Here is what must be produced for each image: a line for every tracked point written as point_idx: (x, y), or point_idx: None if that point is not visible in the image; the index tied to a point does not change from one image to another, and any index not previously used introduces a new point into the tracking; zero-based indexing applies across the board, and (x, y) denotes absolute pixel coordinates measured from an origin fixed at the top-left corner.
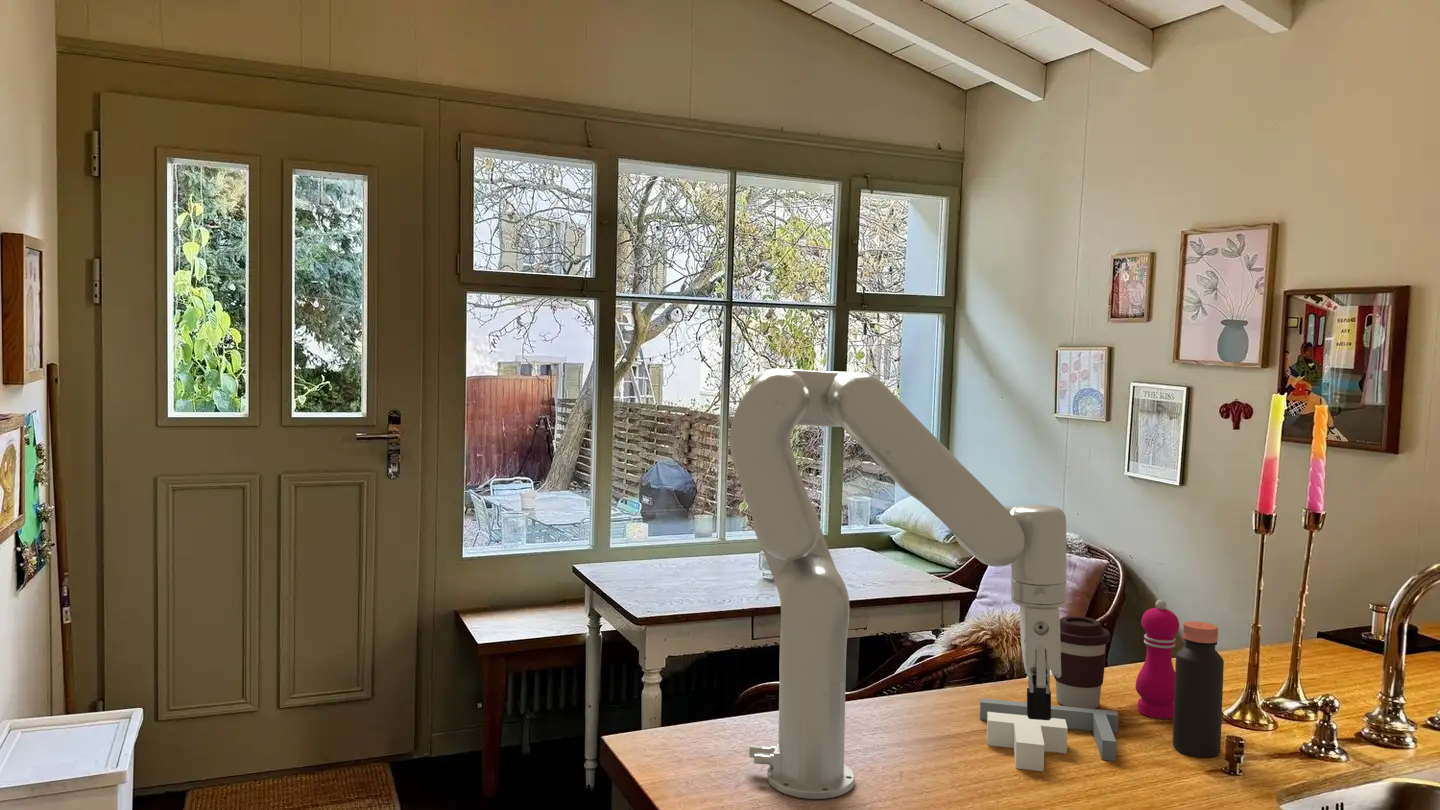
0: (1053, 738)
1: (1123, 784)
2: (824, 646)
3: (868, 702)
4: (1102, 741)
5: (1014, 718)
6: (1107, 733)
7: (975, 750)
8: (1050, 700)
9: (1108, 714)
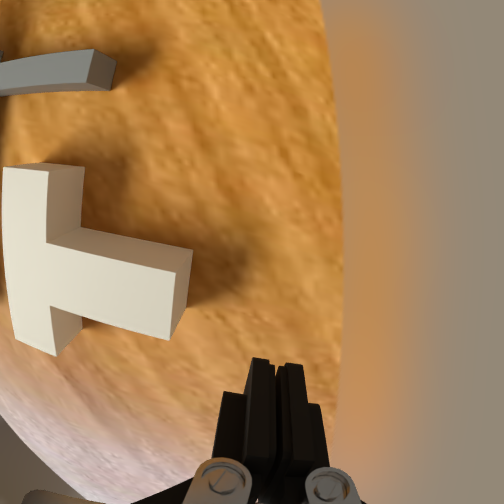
0: (64, 203)
1: (252, 72)
2: None
3: (13, 425)
4: (87, 82)
5: (25, 294)
6: (49, 66)
7: (114, 357)
8: (309, 429)
9: None
